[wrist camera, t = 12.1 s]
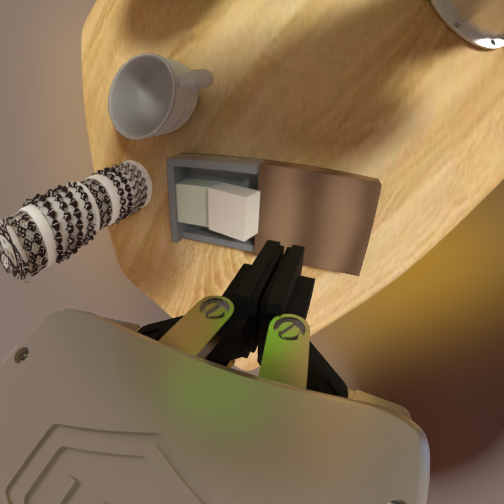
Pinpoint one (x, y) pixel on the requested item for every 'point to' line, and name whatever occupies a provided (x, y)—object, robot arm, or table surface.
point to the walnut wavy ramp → (317, 213)
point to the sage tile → (193, 201)
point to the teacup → (154, 96)
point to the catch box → (213, 169)
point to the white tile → (233, 210)
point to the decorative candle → (70, 217)
